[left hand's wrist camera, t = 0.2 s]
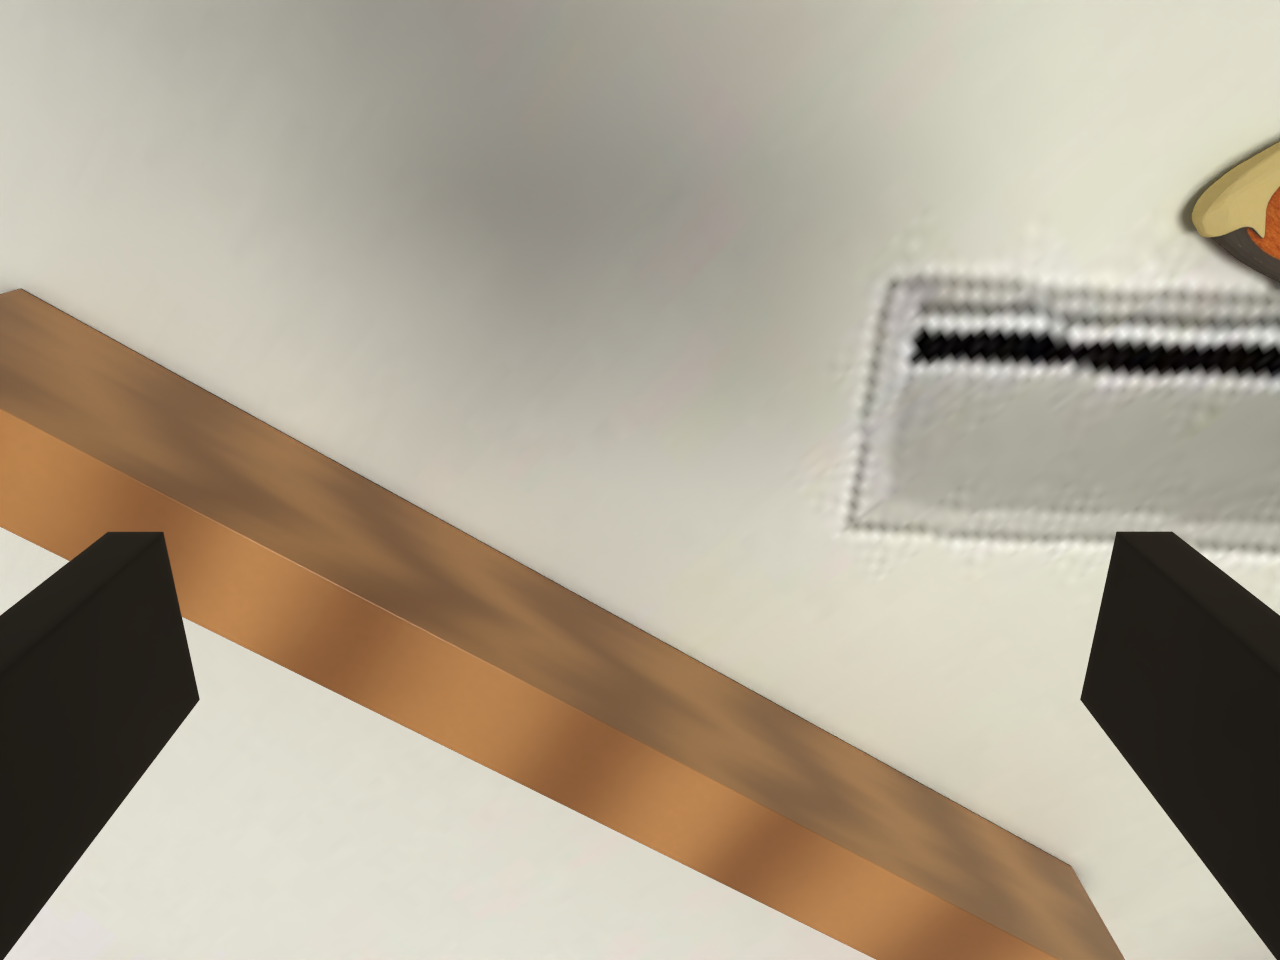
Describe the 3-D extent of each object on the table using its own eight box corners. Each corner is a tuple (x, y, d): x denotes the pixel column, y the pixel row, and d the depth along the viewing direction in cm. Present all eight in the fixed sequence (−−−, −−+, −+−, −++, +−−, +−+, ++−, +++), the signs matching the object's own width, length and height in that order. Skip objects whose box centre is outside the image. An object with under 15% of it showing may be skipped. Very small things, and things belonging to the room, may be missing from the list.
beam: (-13, 374, 40) (-178, 439, 32) (20, 288, 39) (-144, 333, 31) (1018, 917, 52) (1087, 1064, 44) (1071, 866, 51) (1154, 1009, 43)
